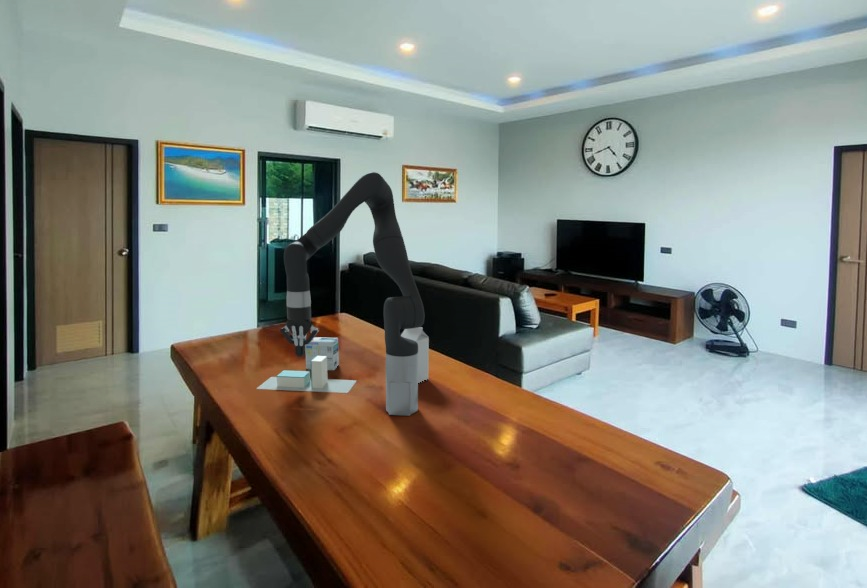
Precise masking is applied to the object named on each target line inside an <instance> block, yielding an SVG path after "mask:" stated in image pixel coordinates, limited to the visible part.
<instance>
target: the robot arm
mask: <svg viewBox="0 0 867 588" xmlns="http://www.w3.org/2000/svg"><path fill="white" fill-rule="evenodd" d="M363 203H365V204H366V205H367V206H368V208H369V211H370V213H371V216H372V219H373V222H374V224H373V225H374V230H373V234H372V235H373V237H372V245H373V249H374V255H375V258H376V262H377V264H378V266H379V267H380V268H381V269H382V270H383V271H384V273H385V274H387V276H388V277H389V278H390V279H392V281H394V283H396V285H397V287H399V290H400V291H401V294H402V296H392V297H391V296H390V297H387V298H386V299H385V301H384V303H383V323H384V324H383V326H384V328H383V329H384V343H385V344H384V345H385V411H386V412H387V413H388V415H389V416H406V417H408V416H409V417H410V416H411V415H413V414H415V413H416V412H418V410H419V384H418V344H417V342H416V341H414V340H411V339H407V338H404V337H402V336H401V330H405V329H411V328H418V327H422V326H423V325H424V324H425V318H426V317H425V316H426V315H425V308H424V307H425V306H424V303H423V300H422V298H421V294H420V292H419V289H418V287H417V284H416V281H415V279H414V275H413V272H412V269H411V264H410V261H409V257H408V253H407V248H406V244H405V241H404V236H403V234H402V230H401V227H400V225H399V222H398V219H397V215H396V207H395V202H394V195H393V190H392V188H391V186H390V185H389V184H388V182H387V181H386V180H385V178H384V177H383V176H382V175H381V174H380V173H379V172H376V171H370V172H367V173H365V174H364V175H362V176H361V177H359V179H357V181H356V182H355V183H354V184H353V185H352V186H351V187H350V188H349V190H348V191H347V192H346V193H345V194H344V195H343V197H342V198H341V199H340V200H339V201H338V202H337V203H336V204H335V205H334V207H332V209H330V211H328V212H327V213H326V214H325V215H324V216H323V217H322V218H320V219H319V220H318V221H316V222H315V223H314V224H313V225H312V226H311V227H309V229H308V230H307V231H306V232H305V233H304V234H303V235H301V236H300V237H299V238H298V239H297V240H295V241H293V242H291V243H289V244H288V245H287V246H285V248H284V251H283V264H284V269H285V274H286V318H287V320H286V322H285V323H286V324H285V326H283V327H282V328H280V329H279V332H280V333H281V334H282V336H284V338H285V339H286V341H288V343H289V344H290V345H291V344H292V345H294V350H295V351H294V353H295V355H296V356H297V358H302V357H304V356H305V355H306V354H305V345H306V344H308V343H310V342H311V341H312V339H313V338H314V337H317V336H316V335H317V334H318V333H319V332H320V328H318V327H315V326H314V324H313V322H312V305H311V304H312V300H311V291H310V290H311V289H310V277H309V273H308V271H307V270H308V269H307V268H308V267H307V261H308V260H309V259H310V258H311V257H312V256H314V254H316V253H317V251H319V250H320V249H321V248H323V247H324V246H326V245H327V244H328V243H329V242H331V241H332V240H333V239H335V238H337V236H338V235H339V234H340V233H341V232H342V231H343V228H345V225H346V223H347V221H348V219H349V218H350V216H351V215H352V213H353V212H354V211H355V210H356V209H357V208H358V207H360V205H362V204H363ZM309 332H310V334H309V336H308V337H307V334H308V333H309Z"/></svg>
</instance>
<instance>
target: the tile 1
mask: <svg viewBox="0 0 867 588" xmlns="http://www.w3.org/2000/svg"><path fill="white" fill-rule="evenodd" d="M276 377H277V386H281V387H303V388H304V387H305V386H306V385H307V384H308V383H309V382H310V378H311V370H282V371H281V372H280V373H279V374H277V375H276Z"/></svg>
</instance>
